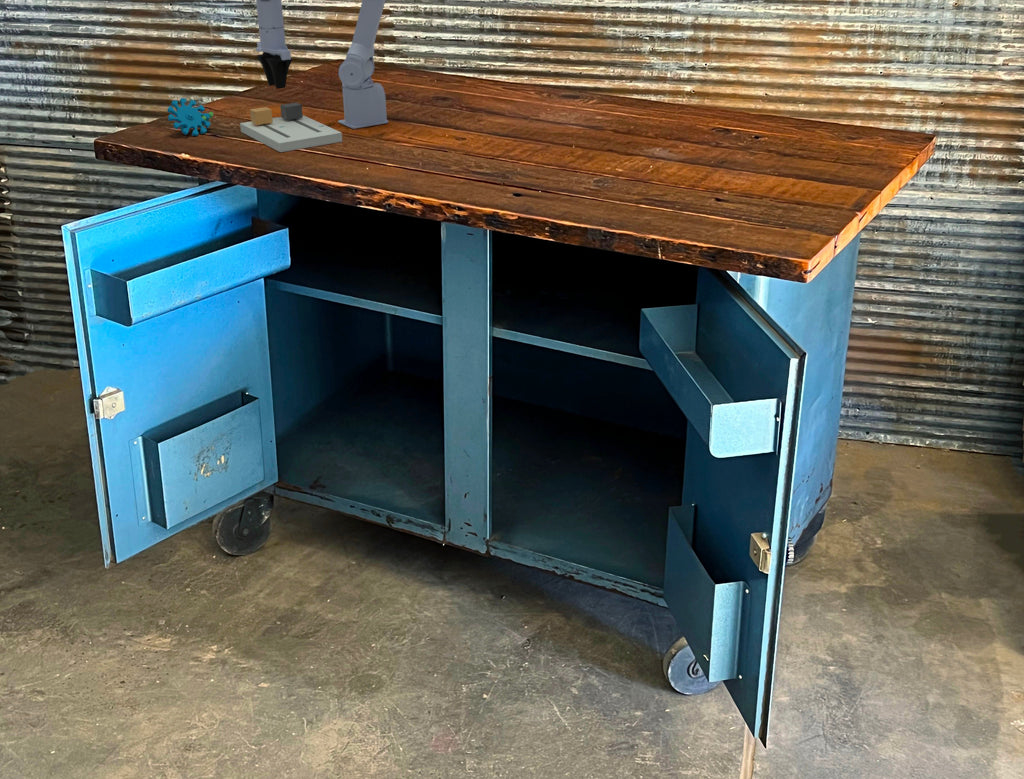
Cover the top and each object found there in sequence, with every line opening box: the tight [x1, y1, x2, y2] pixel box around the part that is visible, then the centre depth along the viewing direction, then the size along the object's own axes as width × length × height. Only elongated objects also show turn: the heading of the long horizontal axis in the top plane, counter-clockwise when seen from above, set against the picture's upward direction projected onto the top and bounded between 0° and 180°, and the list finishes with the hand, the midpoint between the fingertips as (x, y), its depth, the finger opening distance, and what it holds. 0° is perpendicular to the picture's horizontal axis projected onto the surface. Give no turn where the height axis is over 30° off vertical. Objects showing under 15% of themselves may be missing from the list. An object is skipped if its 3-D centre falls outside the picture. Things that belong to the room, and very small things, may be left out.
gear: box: [166, 97, 214, 137], centre depth 285 cm, size 11×6×10 cm
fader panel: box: [239, 114, 343, 153], centre depth 280 cm, size 15×22×2 cm
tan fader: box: [249, 106, 273, 125], centre depth 283 cm, size 4×3×3 cm
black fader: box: [279, 102, 304, 120], centre depth 286 cm, size 4×3×3 cm
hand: (277, 86), depth 290 cm, fingers open, 3 cm apart
